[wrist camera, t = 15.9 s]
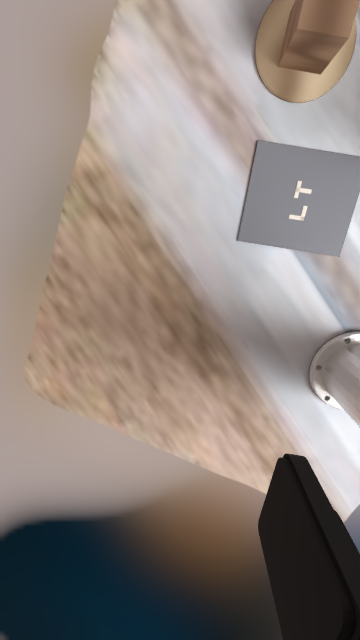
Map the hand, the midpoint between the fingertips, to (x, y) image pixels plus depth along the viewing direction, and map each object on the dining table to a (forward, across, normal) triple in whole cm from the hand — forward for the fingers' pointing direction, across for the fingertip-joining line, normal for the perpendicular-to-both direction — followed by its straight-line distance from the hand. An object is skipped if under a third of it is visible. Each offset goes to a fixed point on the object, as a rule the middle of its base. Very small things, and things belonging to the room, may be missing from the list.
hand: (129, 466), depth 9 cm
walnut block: (+32, -10, -30) cm, 45 cm away
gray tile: (+32, -14, -14) cm, 38 cm away
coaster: (+32, -10, -30) cm, 45 cm away
